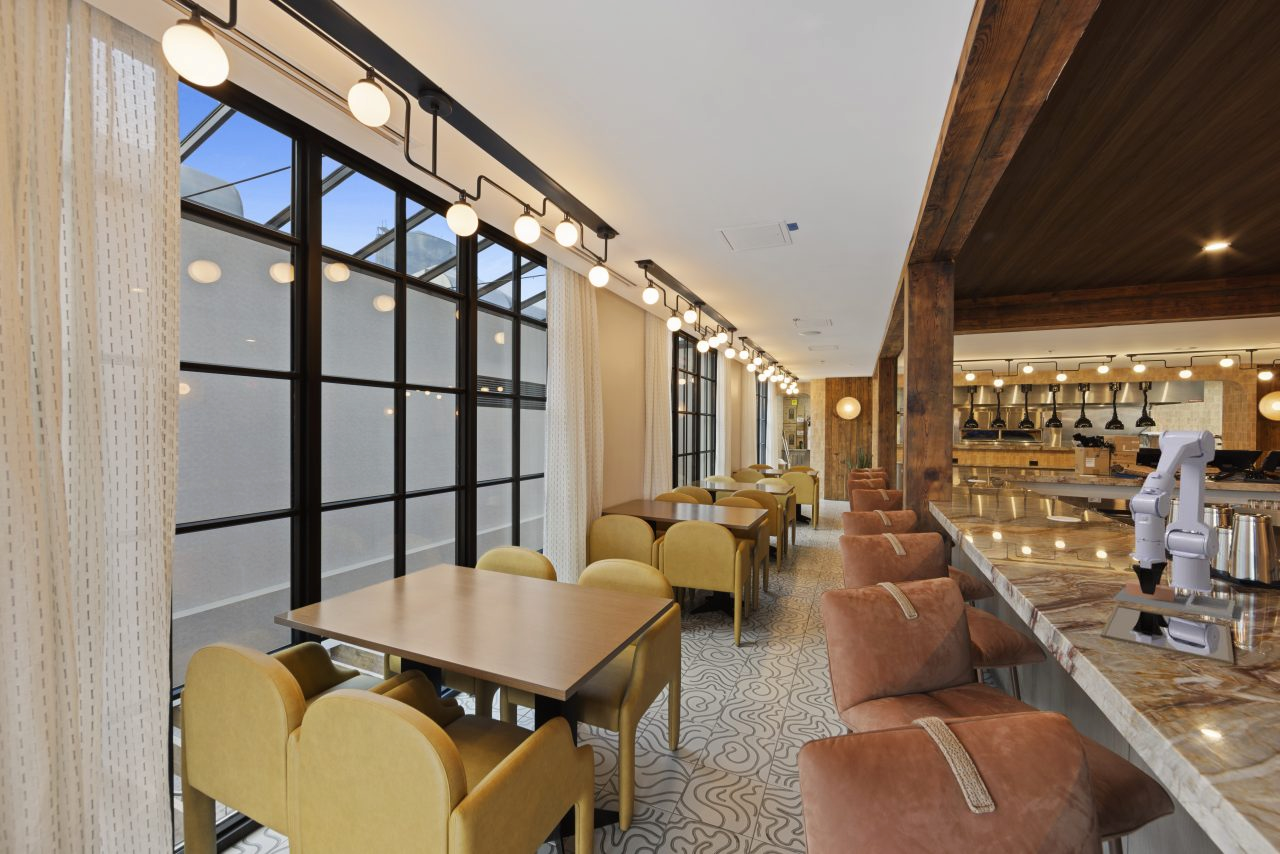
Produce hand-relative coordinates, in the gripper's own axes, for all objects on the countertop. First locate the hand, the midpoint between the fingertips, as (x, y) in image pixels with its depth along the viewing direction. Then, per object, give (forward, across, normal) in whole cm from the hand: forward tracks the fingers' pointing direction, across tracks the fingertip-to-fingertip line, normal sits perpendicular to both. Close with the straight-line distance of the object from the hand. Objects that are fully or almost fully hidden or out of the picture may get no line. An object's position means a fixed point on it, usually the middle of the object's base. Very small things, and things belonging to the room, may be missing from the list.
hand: (1150, 591), depth 141 cm
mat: (+2, +2, +5) cm, 6 cm away
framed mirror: (+2, +30, +6) cm, 31 cm away
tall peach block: (+1, 0, 0) cm, 1 cm away
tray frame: (+2, +2, +11) cm, 11 cm away
